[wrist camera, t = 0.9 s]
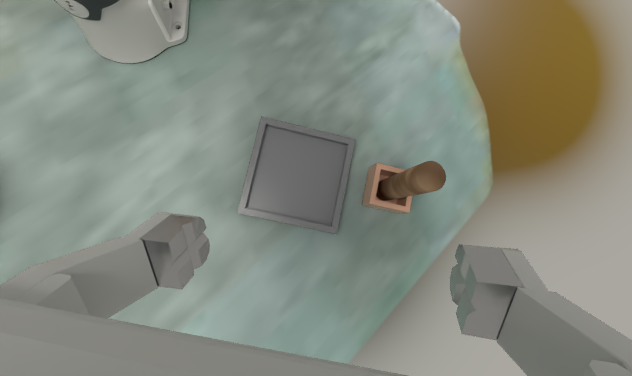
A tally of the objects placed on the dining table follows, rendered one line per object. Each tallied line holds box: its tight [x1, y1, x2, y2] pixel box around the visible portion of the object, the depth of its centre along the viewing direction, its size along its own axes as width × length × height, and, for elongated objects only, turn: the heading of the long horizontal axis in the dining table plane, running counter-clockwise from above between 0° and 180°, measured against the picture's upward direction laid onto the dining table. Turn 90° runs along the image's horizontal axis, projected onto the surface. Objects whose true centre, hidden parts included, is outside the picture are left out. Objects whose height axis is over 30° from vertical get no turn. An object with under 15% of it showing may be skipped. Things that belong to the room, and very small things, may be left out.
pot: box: [362, 163, 412, 213], centre depth 48 cm, size 7×7×4 cm
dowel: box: [376, 161, 446, 201], centre depth 42 cm, size 4×4×16 cm
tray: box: [237, 117, 355, 234], centre depth 48 cm, size 16×16×2 cm
